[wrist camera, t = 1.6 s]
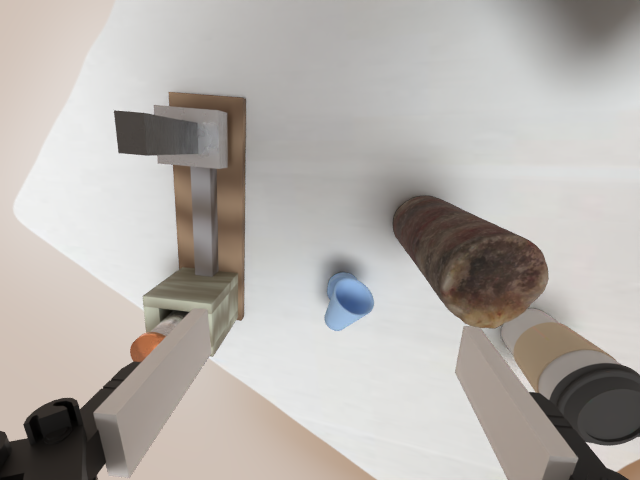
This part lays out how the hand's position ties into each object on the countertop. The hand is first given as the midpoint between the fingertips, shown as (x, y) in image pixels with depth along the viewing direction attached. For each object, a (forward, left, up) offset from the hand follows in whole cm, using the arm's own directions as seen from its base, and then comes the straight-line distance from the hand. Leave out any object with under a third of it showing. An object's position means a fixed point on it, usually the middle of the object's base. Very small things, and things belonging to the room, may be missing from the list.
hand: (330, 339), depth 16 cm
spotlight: (+9, +2, -26) cm, 28 cm away
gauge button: (+12, -17, -18) cm, 28 cm away
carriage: (-9, -17, -22) cm, 30 cm away
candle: (-1, +11, -26) cm, 28 cm away
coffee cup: (+13, +28, -26) cm, 40 cm away
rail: (+1, -17, -26) cm, 31 cm away
